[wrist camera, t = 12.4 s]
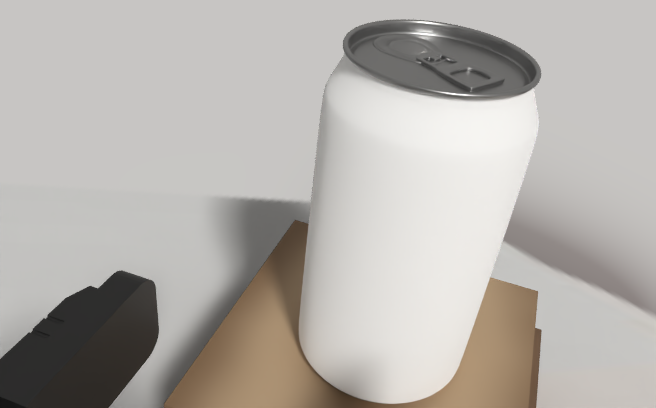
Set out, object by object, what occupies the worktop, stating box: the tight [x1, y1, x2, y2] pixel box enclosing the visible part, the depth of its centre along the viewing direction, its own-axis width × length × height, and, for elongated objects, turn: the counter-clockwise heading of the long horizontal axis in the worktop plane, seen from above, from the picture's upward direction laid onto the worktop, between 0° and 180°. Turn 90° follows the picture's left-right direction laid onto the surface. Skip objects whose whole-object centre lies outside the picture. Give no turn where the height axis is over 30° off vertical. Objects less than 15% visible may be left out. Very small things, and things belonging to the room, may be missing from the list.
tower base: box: [164, 220, 541, 408], centre depth 26 cm, size 14×14×6 cm
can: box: [299, 20, 541, 404], centre depth 20 cm, size 6×6×12 cm
